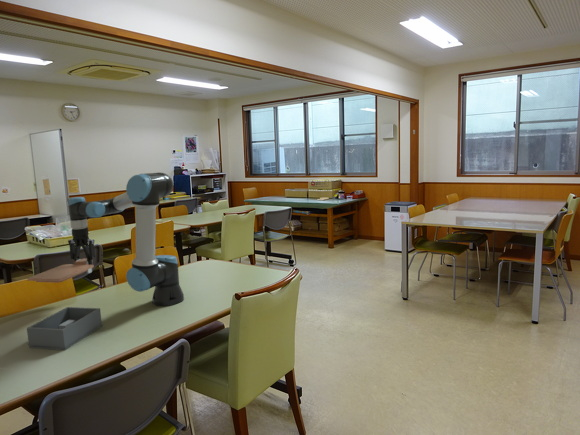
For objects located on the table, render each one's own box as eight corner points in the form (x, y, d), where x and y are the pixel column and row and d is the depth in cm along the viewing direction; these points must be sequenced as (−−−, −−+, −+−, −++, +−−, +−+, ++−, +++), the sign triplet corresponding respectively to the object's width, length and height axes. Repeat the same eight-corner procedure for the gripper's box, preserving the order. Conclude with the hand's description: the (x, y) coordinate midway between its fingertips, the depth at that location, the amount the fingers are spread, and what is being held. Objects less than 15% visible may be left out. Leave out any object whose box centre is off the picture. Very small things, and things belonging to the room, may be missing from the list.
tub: (102, 326, 178) (100, 308, 177) (65, 350, 157) (62, 330, 156) (69, 324, 182) (67, 306, 180) (29, 347, 160) (26, 328, 159)
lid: (102, 265, 213) (102, 258, 212) (60, 284, 184) (59, 276, 183) (74, 264, 216) (73, 258, 216) (28, 283, 187) (27, 275, 186)
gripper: (100, 226, 210) (105, 270, 214) (69, 226, 213) (74, 269, 217) (90, 229, 203) (95, 275, 206) (58, 229, 206) (64, 274, 210)
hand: (84, 272), depth 212 cm, fingers closed on lid, 5 cm apart
